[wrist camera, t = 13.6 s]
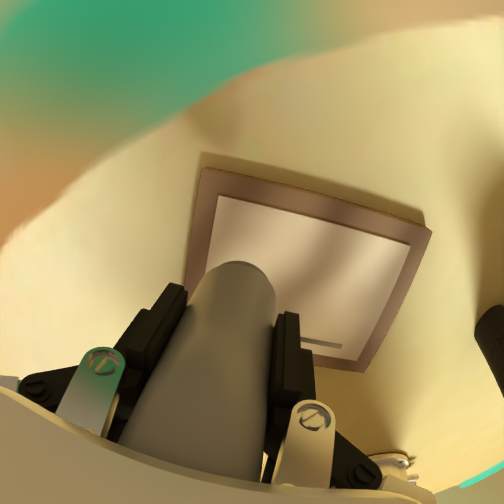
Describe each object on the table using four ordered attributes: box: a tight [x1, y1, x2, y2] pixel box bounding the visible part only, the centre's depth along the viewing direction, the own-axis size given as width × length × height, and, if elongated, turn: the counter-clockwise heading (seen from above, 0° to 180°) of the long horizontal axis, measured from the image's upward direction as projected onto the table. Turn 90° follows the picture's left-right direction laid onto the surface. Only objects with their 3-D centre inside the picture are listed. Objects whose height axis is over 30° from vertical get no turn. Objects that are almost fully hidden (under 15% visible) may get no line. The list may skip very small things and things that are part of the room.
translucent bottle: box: [117, 261, 276, 483], centre depth 8 cm, size 4×4×13 cm
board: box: [184, 167, 432, 373], centre depth 22 cm, size 17×14×2 cm
